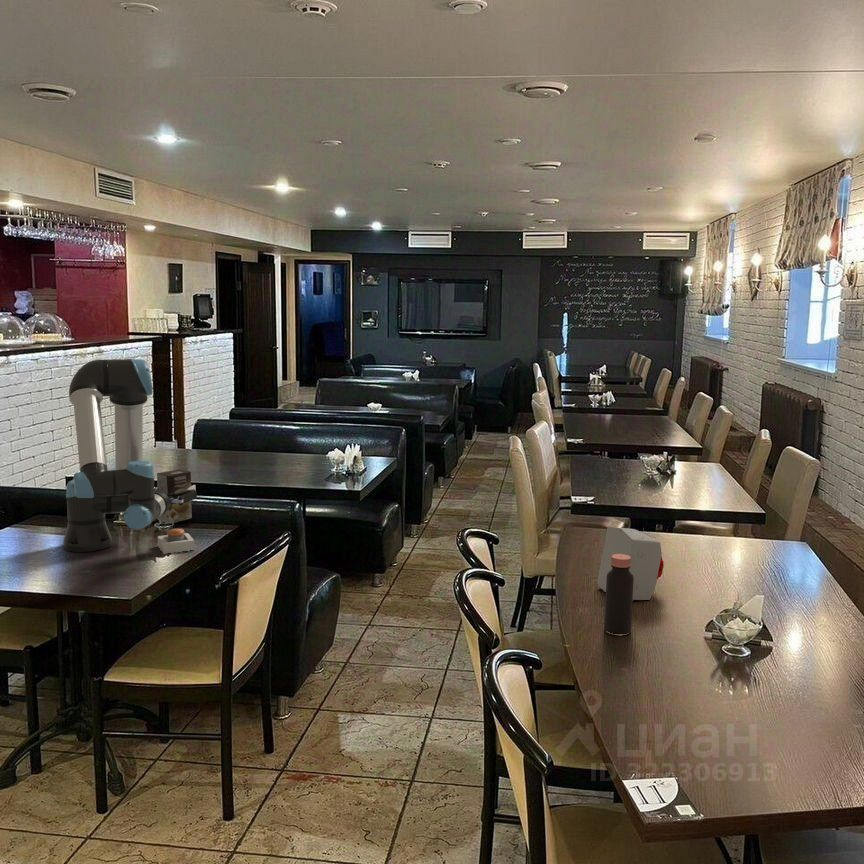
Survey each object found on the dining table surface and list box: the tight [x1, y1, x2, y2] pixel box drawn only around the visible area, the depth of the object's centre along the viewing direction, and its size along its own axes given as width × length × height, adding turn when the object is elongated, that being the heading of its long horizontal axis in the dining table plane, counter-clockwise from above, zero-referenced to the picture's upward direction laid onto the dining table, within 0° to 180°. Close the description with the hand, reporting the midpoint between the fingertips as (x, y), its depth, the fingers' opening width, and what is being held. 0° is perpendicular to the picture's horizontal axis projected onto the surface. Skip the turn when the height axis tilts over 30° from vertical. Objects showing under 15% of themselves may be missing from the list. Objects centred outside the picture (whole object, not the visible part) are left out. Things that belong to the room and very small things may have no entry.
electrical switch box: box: [597, 526, 664, 601], centre depth 249 cm, size 15×15×20 cm
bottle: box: [603, 554, 634, 634], centre depth 219 cm, size 7×7×20 cm
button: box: [166, 528, 185, 542], centre depth 286 cm, size 6×6×5 cm
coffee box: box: [156, 468, 193, 524], centre depth 283 cm, size 9×6×16 cm
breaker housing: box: [157, 532, 195, 555], centre depth 286 cm, size 10×10×4 cm
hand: (178, 488), depth 287 cm, fingers closed on coffee box, 10 cm apart
